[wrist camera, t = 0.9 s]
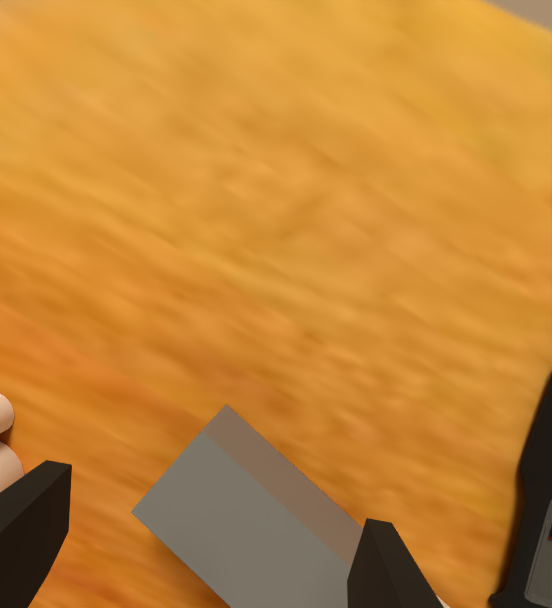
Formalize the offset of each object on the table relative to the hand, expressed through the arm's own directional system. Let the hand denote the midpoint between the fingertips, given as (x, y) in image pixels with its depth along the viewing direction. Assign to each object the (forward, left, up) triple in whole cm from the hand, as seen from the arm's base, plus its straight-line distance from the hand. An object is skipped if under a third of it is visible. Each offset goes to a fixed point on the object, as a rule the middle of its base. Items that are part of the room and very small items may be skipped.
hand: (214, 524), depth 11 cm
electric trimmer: (-14, -4, -16) cm, 22 cm away
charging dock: (-8, +7, -16) cm, 19 cm away
